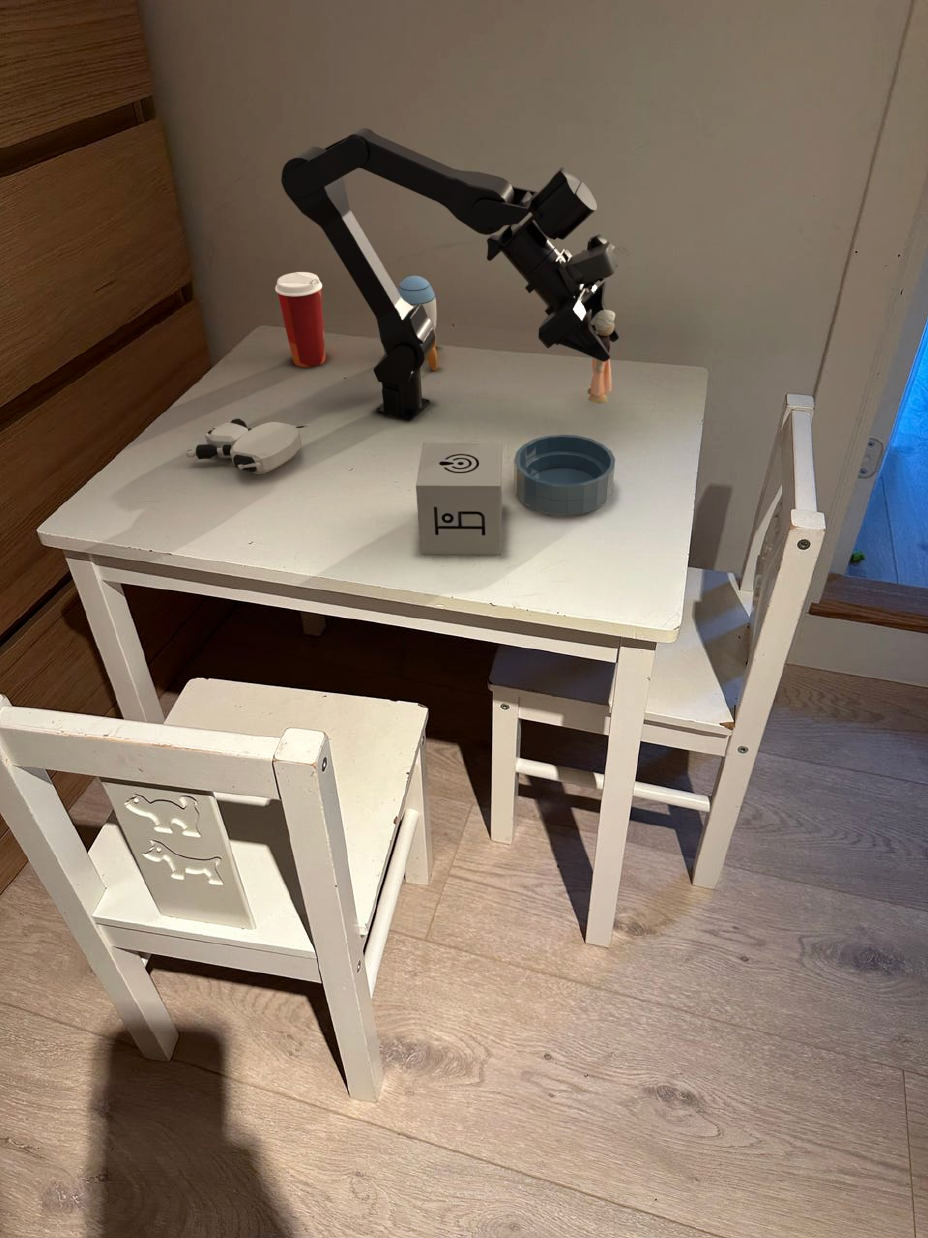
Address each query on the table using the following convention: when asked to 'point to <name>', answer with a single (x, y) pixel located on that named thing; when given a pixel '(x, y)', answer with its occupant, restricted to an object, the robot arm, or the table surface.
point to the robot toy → (251, 445)
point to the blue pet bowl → (563, 474)
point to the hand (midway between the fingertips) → (612, 349)
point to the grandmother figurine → (600, 368)
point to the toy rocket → (422, 292)
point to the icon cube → (460, 498)
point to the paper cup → (303, 317)
